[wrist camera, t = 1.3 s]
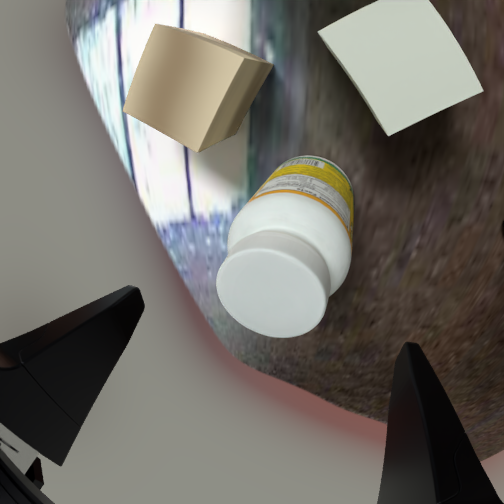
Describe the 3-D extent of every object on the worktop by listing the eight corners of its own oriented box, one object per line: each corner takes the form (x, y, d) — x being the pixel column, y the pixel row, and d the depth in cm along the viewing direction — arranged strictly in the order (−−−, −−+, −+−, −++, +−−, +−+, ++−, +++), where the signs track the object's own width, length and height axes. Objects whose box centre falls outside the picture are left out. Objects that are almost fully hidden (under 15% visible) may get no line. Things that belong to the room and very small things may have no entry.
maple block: (274, 64, 14) (244, 58, 10) (235, 134, 17) (197, 153, 13) (203, 33, 14) (155, 23, 10) (172, 100, 17) (122, 111, 13)
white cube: (448, 87, 11) (483, 90, 7) (377, 122, 14) (388, 136, 10) (399, 11, 10) (416, -15, 6) (327, 48, 13) (317, 31, 9)
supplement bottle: (306, 135, 16) (255, 192, 8) (372, 198, 16) (381, 307, 9) (252, 196, 19) (175, 287, 11) (312, 249, 20) (277, 365, 12)
